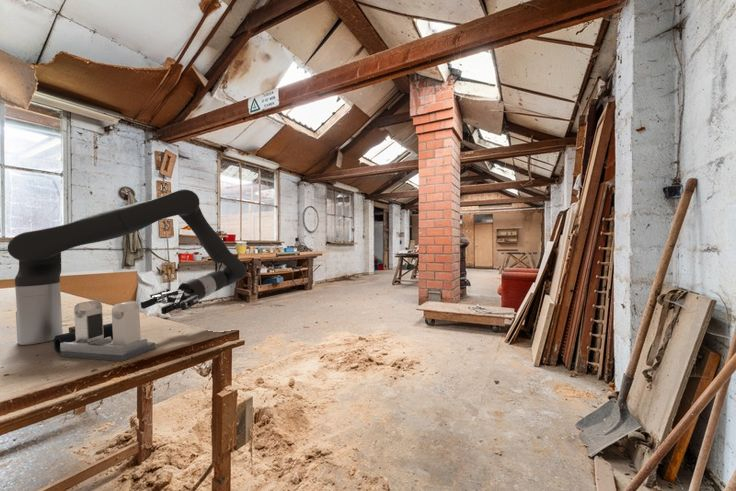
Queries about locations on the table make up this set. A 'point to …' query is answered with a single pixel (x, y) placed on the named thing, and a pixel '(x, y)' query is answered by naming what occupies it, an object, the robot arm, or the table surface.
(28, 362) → the table surface
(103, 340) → the bracket
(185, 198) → the robot arm
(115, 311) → the finger
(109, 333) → the pipe connector
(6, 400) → the table surface
